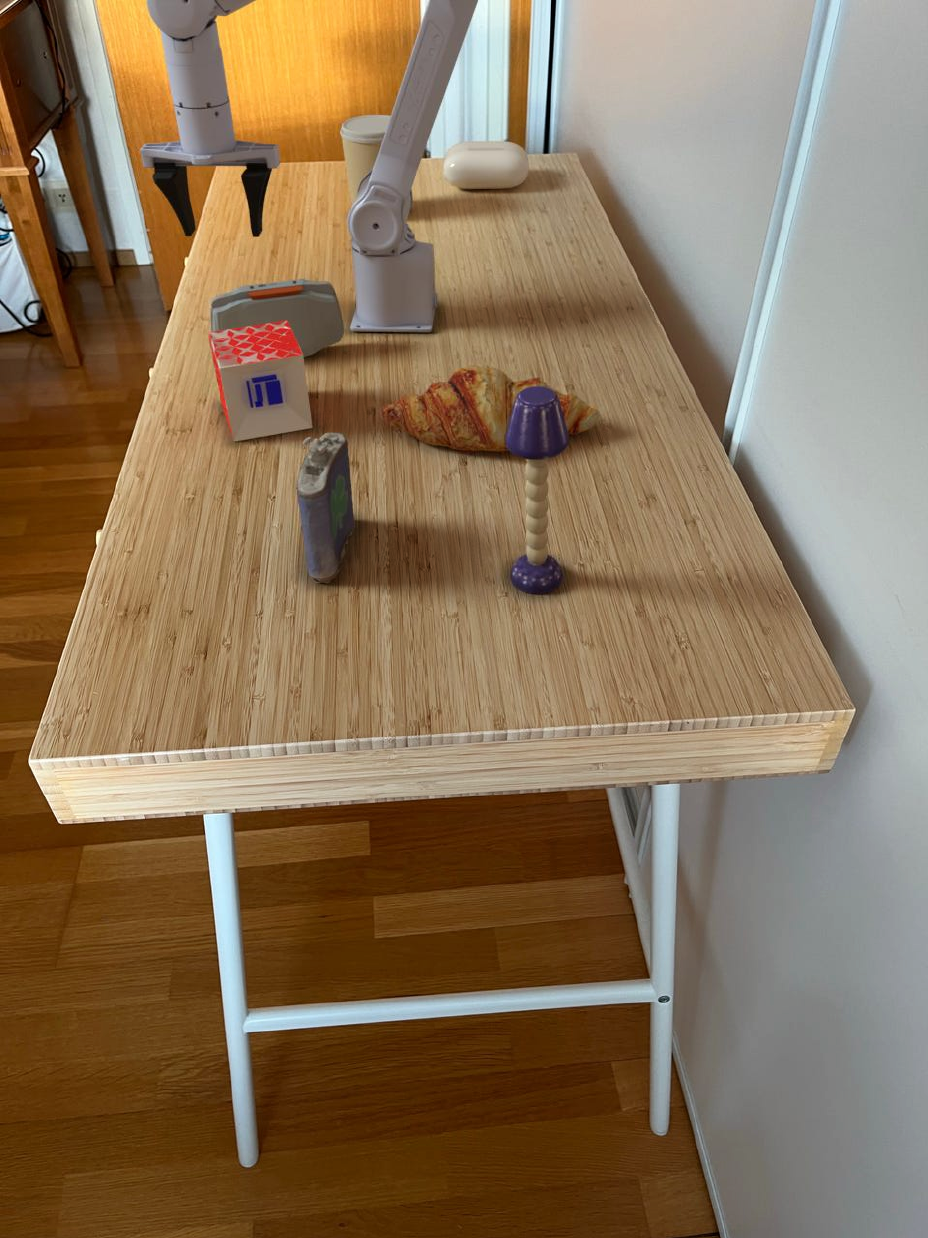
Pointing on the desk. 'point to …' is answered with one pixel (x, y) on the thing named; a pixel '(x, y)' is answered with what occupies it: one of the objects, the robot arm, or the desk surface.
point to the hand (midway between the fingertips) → (224, 233)
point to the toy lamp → (536, 481)
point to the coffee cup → (362, 147)
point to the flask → (325, 504)
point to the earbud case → (485, 165)
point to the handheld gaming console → (284, 310)
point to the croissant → (475, 410)
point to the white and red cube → (261, 380)
